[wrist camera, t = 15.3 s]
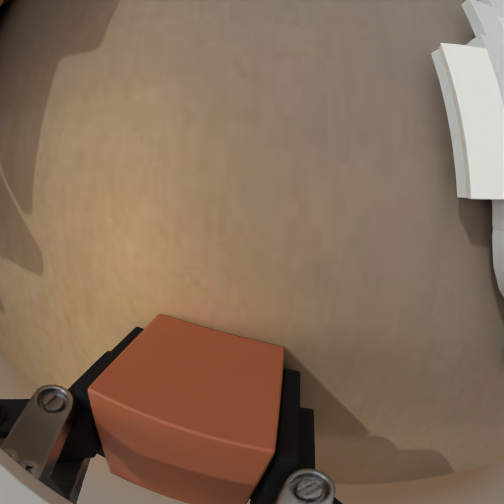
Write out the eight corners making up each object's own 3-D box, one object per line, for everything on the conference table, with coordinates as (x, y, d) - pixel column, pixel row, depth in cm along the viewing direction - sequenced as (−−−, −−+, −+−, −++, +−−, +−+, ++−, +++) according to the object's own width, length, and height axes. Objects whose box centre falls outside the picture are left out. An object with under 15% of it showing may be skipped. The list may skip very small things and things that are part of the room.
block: (155, 399, 10) (109, 473, 6) (159, 312, 9) (85, 387, 5) (257, 428, 10) (239, 516, 6) (285, 346, 9) (276, 452, 5)
